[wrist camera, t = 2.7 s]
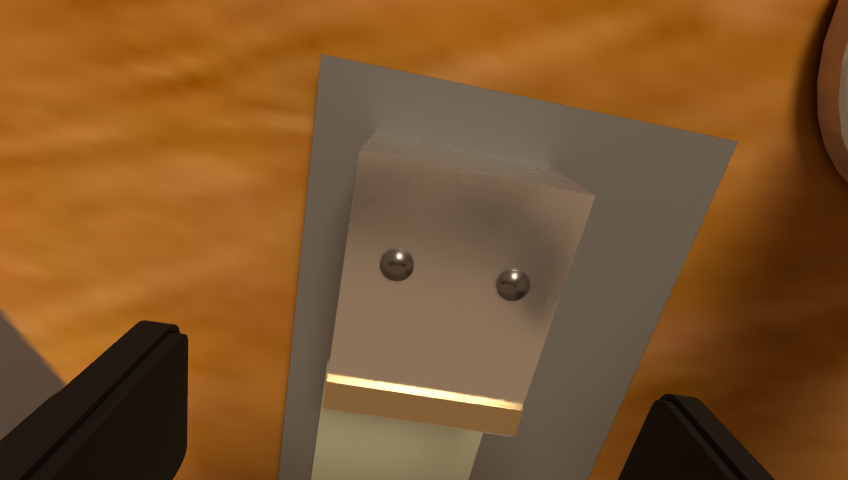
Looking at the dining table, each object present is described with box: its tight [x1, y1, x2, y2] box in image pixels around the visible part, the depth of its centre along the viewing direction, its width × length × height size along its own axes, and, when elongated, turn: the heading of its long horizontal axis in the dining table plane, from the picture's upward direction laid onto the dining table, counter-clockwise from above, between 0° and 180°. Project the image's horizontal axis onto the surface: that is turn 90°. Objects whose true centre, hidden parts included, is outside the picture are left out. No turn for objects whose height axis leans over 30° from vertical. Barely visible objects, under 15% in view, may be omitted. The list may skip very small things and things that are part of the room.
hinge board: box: [278, 54, 738, 480], centre depth 19 cm, size 14×28×1 cm, turn 169°
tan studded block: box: [323, 132, 595, 437], centre depth 14 cm, size 6×8×4 cm
